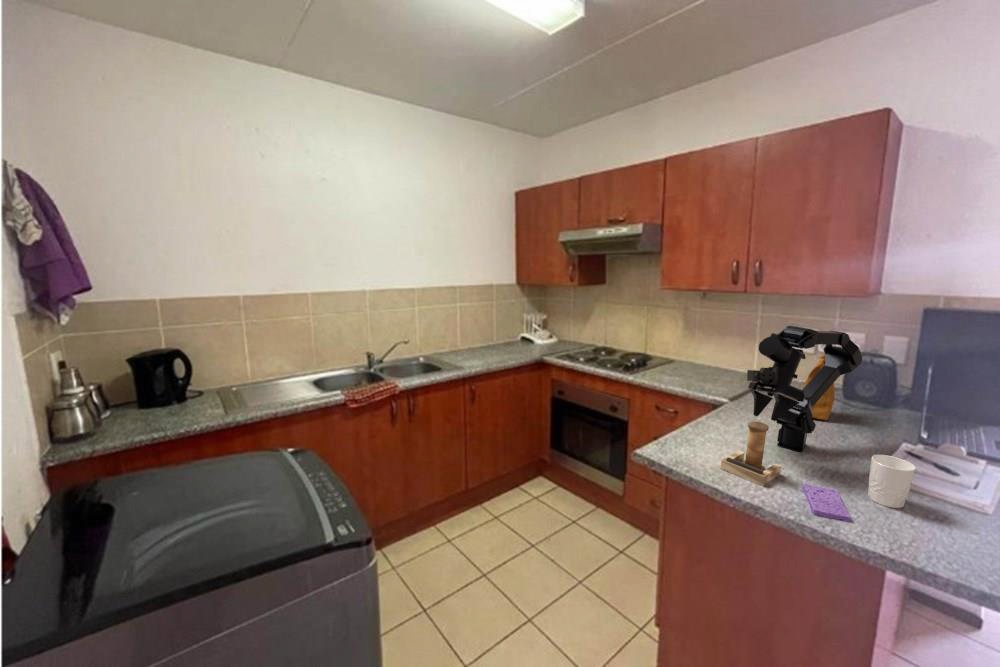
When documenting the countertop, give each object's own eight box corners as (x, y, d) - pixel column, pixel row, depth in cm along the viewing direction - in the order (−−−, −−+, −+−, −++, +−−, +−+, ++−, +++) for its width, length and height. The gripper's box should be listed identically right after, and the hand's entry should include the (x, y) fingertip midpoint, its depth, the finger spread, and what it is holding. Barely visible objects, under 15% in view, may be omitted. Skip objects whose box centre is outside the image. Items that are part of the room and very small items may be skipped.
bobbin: (765, 467, 123) (771, 423, 120) (765, 477, 118) (771, 431, 115) (740, 462, 126) (745, 419, 123) (739, 471, 121) (745, 426, 118)
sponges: (835, 495, 110) (836, 489, 110) (850, 524, 99) (851, 516, 99) (801, 489, 113) (802, 482, 113) (812, 516, 102) (813, 509, 102)
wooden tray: (738, 458, 128) (739, 447, 128) (779, 474, 120) (781, 463, 119) (720, 468, 122) (721, 457, 122) (762, 485, 114) (764, 474, 113)
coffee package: (832, 413, 164) (842, 355, 159) (829, 423, 154) (839, 362, 150) (800, 407, 170) (809, 351, 166) (795, 416, 161) (804, 357, 156)
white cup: (856, 492, 111) (863, 455, 109) (885, 490, 112) (892, 454, 110) (885, 510, 104) (893, 471, 102) (916, 509, 104) (925, 470, 102)
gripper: (741, 356, 138) (722, 403, 137) (776, 356, 119) (753, 410, 118) (776, 370, 137) (756, 417, 136) (816, 373, 118) (794, 427, 118)
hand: (763, 418), depth 127 cm, fingers open, 9 cm apart
